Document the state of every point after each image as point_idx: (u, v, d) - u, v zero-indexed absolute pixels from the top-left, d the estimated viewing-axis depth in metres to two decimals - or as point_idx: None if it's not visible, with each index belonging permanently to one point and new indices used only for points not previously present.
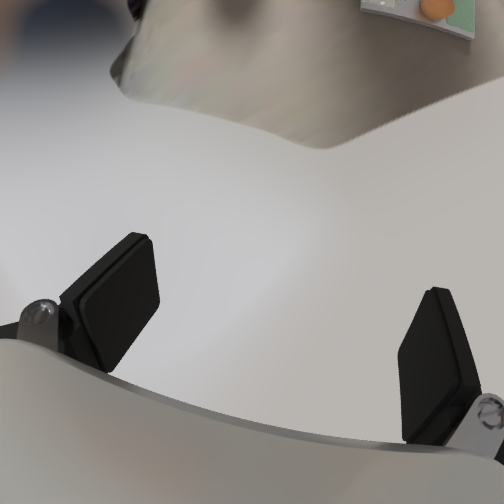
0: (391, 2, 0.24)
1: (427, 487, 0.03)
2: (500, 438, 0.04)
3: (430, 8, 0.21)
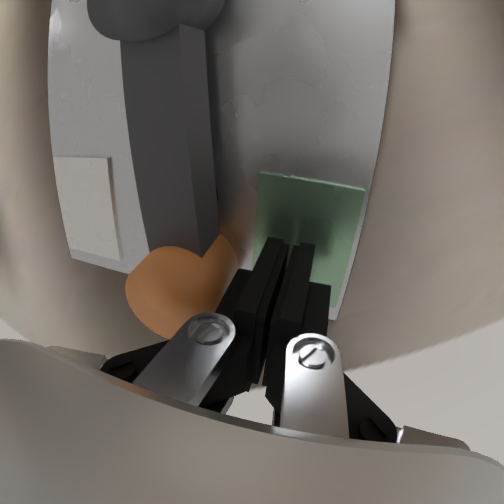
0: (113, 246, 0.14)
1: (427, 487, 0.03)
2: (340, 369, 0.06)
3: None
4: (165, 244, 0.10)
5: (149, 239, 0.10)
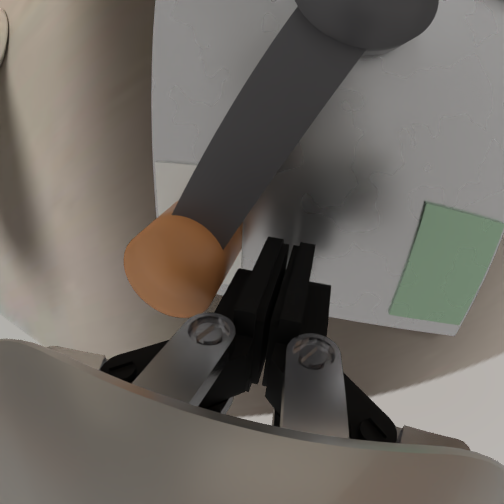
0: (232, 270, 0.13)
1: (427, 487, 0.03)
2: (340, 369, 0.06)
3: None
4: (194, 218, 0.10)
5: (180, 204, 0.10)
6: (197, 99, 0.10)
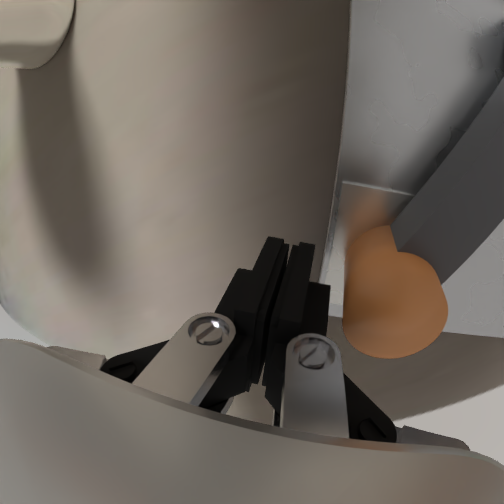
0: None
1: (427, 487, 0.03)
2: (340, 368, 0.06)
3: None
4: (422, 256, 0.08)
5: (412, 241, 0.08)
6: (402, 120, 0.09)
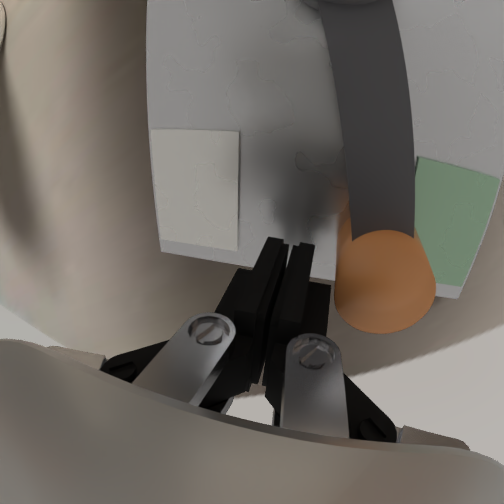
0: (229, 234, 0.13)
1: (427, 487, 0.03)
2: (340, 369, 0.06)
3: None
4: (374, 229, 0.09)
5: (355, 225, 0.09)
6: (190, 66, 0.10)
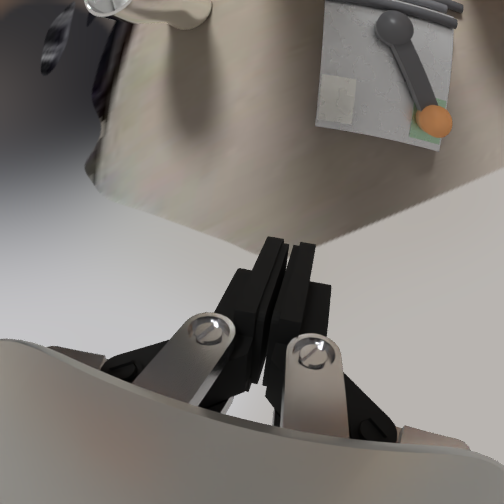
0: (348, 118, 0.30)
1: (427, 487, 0.03)
2: (340, 369, 0.06)
3: (428, 133, 0.26)
4: (426, 105, 0.25)
5: (420, 105, 0.25)
6: (340, 54, 0.27)
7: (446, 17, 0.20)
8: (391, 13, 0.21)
